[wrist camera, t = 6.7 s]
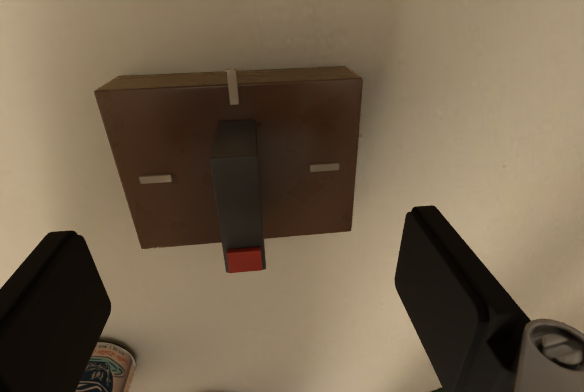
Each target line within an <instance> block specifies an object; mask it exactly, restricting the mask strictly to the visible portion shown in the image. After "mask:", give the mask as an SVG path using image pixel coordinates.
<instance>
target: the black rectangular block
mask: <svg viewBox="0 0 584 392" xmlns="http://www.w3.org/2000/svg"><path fill="white" fill-rule="evenodd" d="M210 164H211V171H212V178H213V185H214V192H215V199H216V205H217V212H218V219H219V226H220V233H221V240H222V247H223V254H224V260H225V267H226V272H227V273H236V272H247V271H258V270H263V269H266V261H265V247H264V232H263V218H262V203H261V189H260V174H259V160H258V146H257V132H256V121H255V120H239V121H219V122H218V126H217V130H216V135H215V139H214V143H213V148H212V152H211V157H210Z"/></svg>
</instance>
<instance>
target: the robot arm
mask: <svg viewBox="0 0 584 392" xmlns="http://www.w3.org/2000/svg"><path fill="white" fill-rule="evenodd" d="M395 286H396V290H397V292H398V294H399V296H400V298H401V300H402V302H403V305H404V307H405V309H406V311H407V313H408V315H409V317H410V319H411V321H412V324H413V326H414V328H415V330H416V332H417V334H418V336H419V338H420V340H421V343H422V345H423V347H424V349H425V351H426V353H427V355H428V357H429V359H430V362H431V364H432V366H433V368H434V370H435V372H436V374H437V376H438V378H439V381H440V383H441V385H442V387H443V389H444V391H445V392H584V334H583V333H581V332H580V331H578V330H577V329H575V328H573V327H571V326H569V325H567V324H565V323H562V322H558V321H555V320H550V319H536V320H532V321H531V320H530V319H529V318H528V317H527V316H526V314H525V313H524V312H523V311H522V310H521V308H520V307H519V306H518V305H517V304H516V302H515V301H514V300H513V299H512V298H511V296H510V295H509V294H508V293H507V292H506V290H505V289H504V288H503V287H502V286H501V284H500V283H499V282H498V281H497V280H496V279H495V277H494V276H493V275H492V274H491V273H490V271H489V270H488V269H487V268H486V267H485V265H484V264H483V263H482V262H481V261H480V259H479V258H478V257H477V256H476V255H475V253H474V252H473V251H472V250H471V249H470V247H469V246H468V245H467V244H466V243H465V241H464V240H463V239H462V238H461V237H460V235H459V234H458V233H457V232H456V231H455V229H454V228H453V227H452V226H451V225H450V223H449V222H448V221H447V220H446V219H445V217H444V216H443V215H442V214H441V213H440V211H439V210H438V209H437V208H436V207H435V206H419V207H414V208H413V209H412V211H411V212H408V213H407V214H406V218H405V223H404V229H403V234H402V240H401V246H400V251H399V257H398V262H397V268H396V274H395ZM110 312H111V302H110V300H109V297H108V295H107V292H106V290H105V287H104V285H103V283H102V280H101V278H100V275H99V273H98V270H97V268H96V266H95V263H94V261H93V258H92V256H91V254H90V251H89V249H88V246H87V244H86V241H85V239H84V237H83V236H81V235H78V234H77V233H76V232H75V231H59V232H50V233H48V234H47V235H46V236H45V237H44V238H43V240H42V241H41V242H40V243H39V244H38V245H37V247H36V248H35V249H34V250H33V251H32V252H31V254H30V255H29V256H28V257H27V258H26V260H25V261H24V262H23V263H22V264H21V265H20V267H19V268H18V269H17V270H16V271H15V272H14V274H13V275H12V276H11V277H10V278H9V279H8V281H7V282H6V283H5V284H4V285H3V287H2V288H1V289H0V392H75V391H76V389H77V387H78V385H79V383H80V380H81V378H82V376H83V374H84V371H85V369H86V367H87V365H88V362H89V360H90V358H91V356H92V353H93V351H94V349H95V347H96V344H97V342H98V340H99V338H100V335H101V333H102V331H103V329H104V326H105V324H106V322H107V320H108V318H109V315H110Z"/></svg>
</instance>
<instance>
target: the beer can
mask: <svg viewBox="0 0 584 392" xmlns="http://www.w3.org/2000/svg"><path fill="white" fill-rule="evenodd" d="M135 368H136V363H135V360H134V358H133V357H132V355H131V354H130V353H129V352H128V351H127V350H125V349H123V348H121V347H119V346H117V345H115V344H111V343H106V342H97V344H96V347H95V349H94V351H93V353H92V356H91V358H90V360H89V362H88V365H87V367H86V369H85V371H84V374H83V376H82V378H81V380H80V383H79V385H78V387H77V389H76V391H75V392H128V391H129V388H130V384H131V381H132V378H133V374H134V371H135Z"/></svg>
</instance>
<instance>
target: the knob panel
mask: <svg viewBox="0 0 584 392" xmlns="http://www.w3.org/2000/svg"><path fill="white" fill-rule="evenodd" d="M362 84H363V78H361V77H360V76H359V75H357V74H356V73H354V72H353V71H351V70H350V69H348V68H347V67H345V66H340V67H318V68H295V69H272V70H250V71H236V69H227V72H204V73H182V74H159V75H136V76H118V77H116V78H115V79H113V80H111V81H110V82H108V83H107V84H105V85H103V86H102V87H100V88H98V89H97V90H95V91H94V93H95V97H96V100H97V103H98V106H99V110H100V113H101V116H102V120H103V123H104V126H105V129H106V133H107V136H108V139H109V143H110V146H111V149H112V153H113V156H114V159H115V162H116V166H117V169H118V172H119V176H120V179H121V182H122V186H123V189H124V192H125V195H126V199H127V202H128V205H129V209H130V212H131V215H132V219H133V222H134V225H135V228H136V232H137V235H138V238H139V242H140V245H141V248H142V249H150V248H161V247H173V246H185V245H196V244H208V243H219V242H222V240H221V233H220V226H219V219H218V212H217V205H216V199H215V192H214V185H213V178H212V171H211V164H210V157H211V152H212V148H213V143H214V139H215V135H216V130H217V126H218V122H219V121H239V120H255V121H256V132H257V146H258V160H259V174H260V189H261V203H262V218H263V232H264V239H266V238H277V237H289V236H300V235H312V234H324V233H335V232H347V231H351V227H352V214H353V201H354V188H355V175H356V162H357V149H358V136H359V123H360V110H361V97H362Z"/></svg>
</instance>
